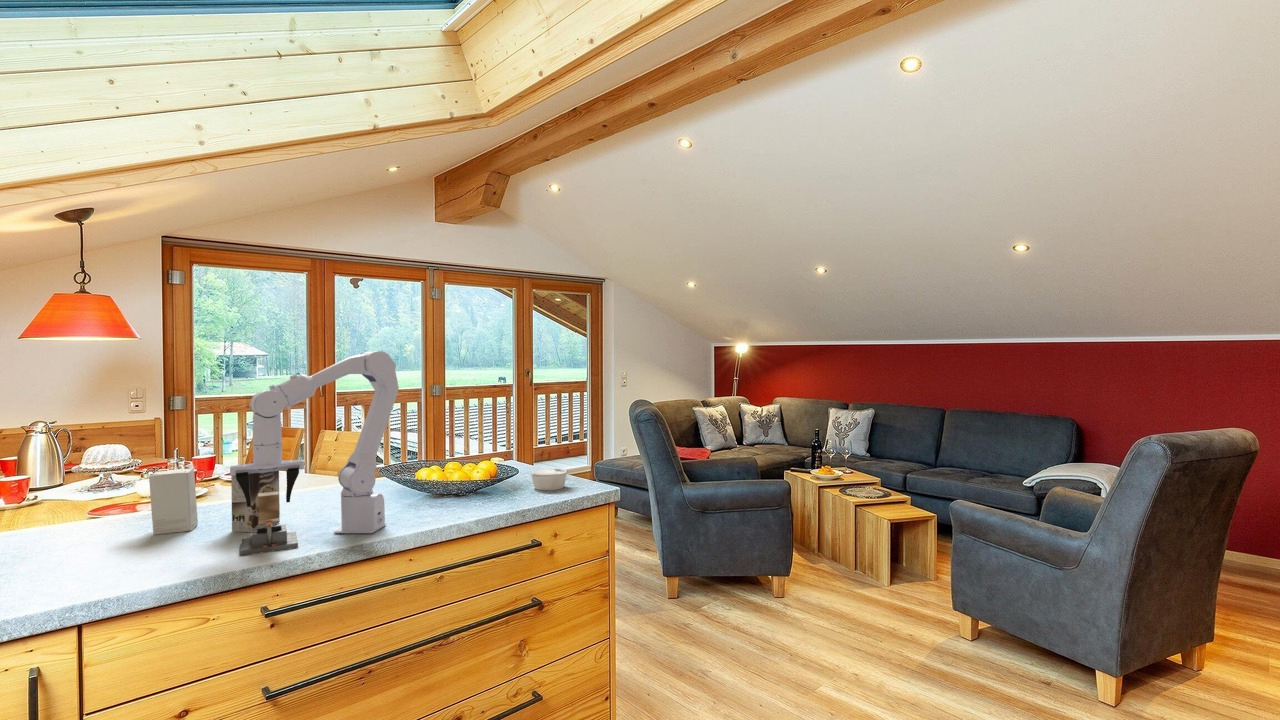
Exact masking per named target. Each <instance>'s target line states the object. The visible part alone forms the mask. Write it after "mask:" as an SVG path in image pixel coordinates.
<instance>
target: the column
mask: <svg viewBox="0 0 1280 720" xmlns="http://www.w3.org/2000/svg"><path fill="white" fill-rule="evenodd" d="M279 505H280V490H279V491H276V492H267V493H258V508H259V524H266V521H272V523H274V522H279V521H280V522H281V520H280V518H281V516H280V517H279Z"/></svg>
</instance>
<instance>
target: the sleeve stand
mask: <svg viewBox="0 0 1280 720" xmlns="http://www.w3.org/2000/svg"><path fill="white" fill-rule="evenodd" d="M271 525H272V521H266V526H267V527H261V528H253V529H252V532H251V537H244V538H241V543H240V549H239V550H240V551H239V552H240V553H239V554H240V555H239V556H241V555H242V556H248V555H247V554H249V555H254V554H253V553H256V554H261V553H260V552H263V553H267V552H268V551H270V552H275V550H277V551H281V549H284V550H290V549H289V548H291V549H296V547H298V548H299V541H298V540H299V539H298V535H297V531H290V532H288V529H287V524H280V525H279V524H276V525H273V526H271Z"/></svg>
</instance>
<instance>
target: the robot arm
mask: <svg viewBox="0 0 1280 720" xmlns="http://www.w3.org/2000/svg"><path fill="white" fill-rule="evenodd" d="M396 367H397V365H396V363H395V361H394V360H393V358H392V357H391V356H390V355H389V354H388V353H387V352H386V351H382V350H375V351H370V350H367V351H364V352H361V353H360V354H355V355H352V356H349V357H347V358H344V359H342V360H340V361H338V362H336V363H334V364H332V365H330V366H328V367H325V368H323V369H322V370H320V371H318V372H316V373H314V374H312V375H306V374H303V373H301V374H298V375H297V374H291V375H290V376H289V379H287V380H285V381H283V382H281V383H279V384H276V385H275V384H272V385H269V386H268V388H269V390H261V391H258V392H257V393H255V394H254V395H253V397H251V400H250V402H249V404H248V405H249V409H250V411H251V412H252V413H253V414H252V421H253V422H252V423H253V424H252V459H253V460H252V462H253V463H252V462H250V463H251V464H247V463H244V464H243V463H242V464H243V465H242V464H235V465H230V466H229V476H233V475H236V480H237V482H238V483H239V485H240V487H241V489H242V491H243V493H244V495H245V498H246V502H247V507H251V497H250V482H249V473H260V472H271V471H279V472H280V471H286V473H285V474H286V492H285V500H286V503H290V502H291V496H292V492H293V488H294V486H295V483H296V481H297V479H298V476H299V474H300V470H304V469H305V460H304V459H295V460H293V459H291V460H283V441H282V440H283V434H282V432H283V430H282V428H283V427H282V425H283V424H282V419H281V417H282V416H281V413H283V411H284V408H285V409H289V408H290V407H292V406H293V407H294V405H297V404H298V403H301V402H303V401H305V400H307V399H309V398H311V397H314V395H315V393H316V391H317V389H318V388H320V387H322V386H325V385H327V384H329V383H331V382H335V381H336V380H339V379H341V378H343V377H346V376H348V375H362V376H363V377H364V378H365V379H366V380H368V381H369V383H370V385H371V387H372V388H373V390H374V394H373V396H372V400H371V402H370V406H369V409H368V412H367V414H366V417H365V420H364V423H363V426H362V427H361V428H362V429H361V431H360V434H359V437H358V440H357V443H356V445H355V449H354V451H353V452H352V453H351V454H350V456H349V457H348V460H347V462H346V463H345V465H344V466H343V467H342V468H341V469H340V471H339V473H338V476H337V477H338V482H339V485H340V486H341V487H342V490H341V491H340V499H341V500H340V509H341V511H340V513H341V519H340V521H341V527H340V528H337V529H336V530H334V532H333V534H373V533H375V532H377V531H379V530H380V529H382V528H384V527H385V526H387V523H386V522H385V521H386V519H385V518H386V517H385V512H386V510H385V508H386V507H385V497H384V495H383V494H382V493H376V492H374V487H375V485H376V470H377V458H376V457H377V454H378V451H379V448H380V446H381V443H382V439H383V437H384V433H385V432H386V428H387V425H388V422H389V419H390V417H391V413H392V410H393V408H394V404H395V402H396V399H397V397H398V394H399V389H400V388H399V387H400V386H399V382H398V377H397V371H396ZM271 468H276V469H271ZM259 469H265V470H259Z"/></svg>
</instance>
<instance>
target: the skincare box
mask: <svg viewBox="0 0 1280 720" xmlns="http://www.w3.org/2000/svg"><path fill="white" fill-rule="evenodd" d="M194 468H195V467H194ZM194 468H193V467H192V468H191V467H190V468H182V469H172V470H163V471H162V470H161V471H159V470H158V471H155V472H154V473H152V474H151V475H149V476H148V479H149V480H148V481H149V492H150V493H149V494H150V495H149V496H150V506H151V507H150V508H151V519H152V520H151V521H152V534H153V535H162V534H164V535H165V534H171V533H181V532H189V531H190V532H191V531H192V530H193V529H195V528H196V527H198V525H199V519H198V506H197V505H198V504H197V491H196V490H197V489H196V478H195V469H194Z"/></svg>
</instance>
